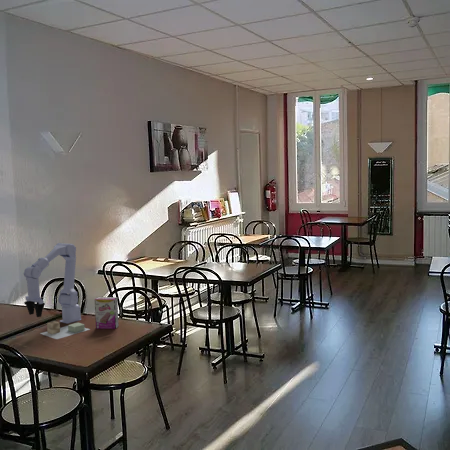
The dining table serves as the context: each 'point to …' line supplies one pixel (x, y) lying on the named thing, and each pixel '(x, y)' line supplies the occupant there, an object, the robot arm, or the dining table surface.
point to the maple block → (53, 327)
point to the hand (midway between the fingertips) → (35, 315)
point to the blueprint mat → (61, 333)
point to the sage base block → (76, 327)
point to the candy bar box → (106, 312)
